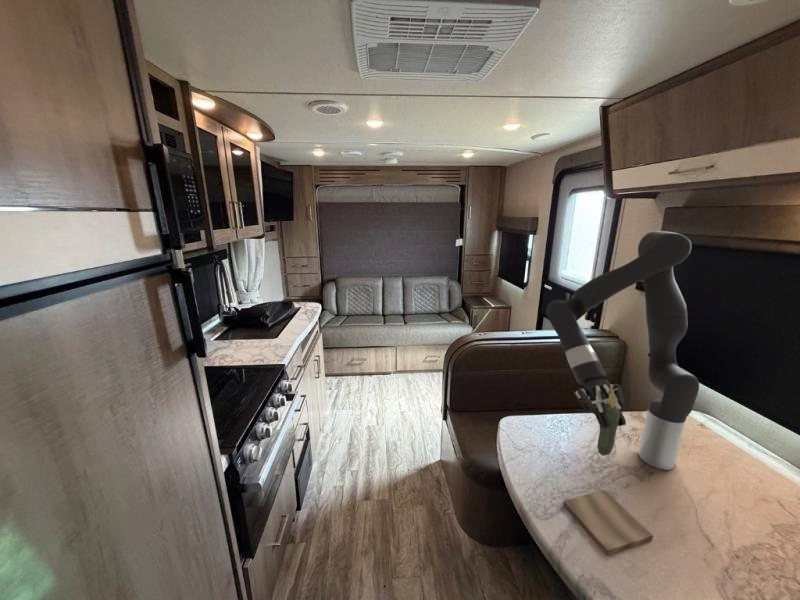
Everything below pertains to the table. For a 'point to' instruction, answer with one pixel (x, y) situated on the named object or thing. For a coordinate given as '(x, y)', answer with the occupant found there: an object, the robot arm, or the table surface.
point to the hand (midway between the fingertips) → (614, 426)
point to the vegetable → (609, 434)
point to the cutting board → (607, 522)
